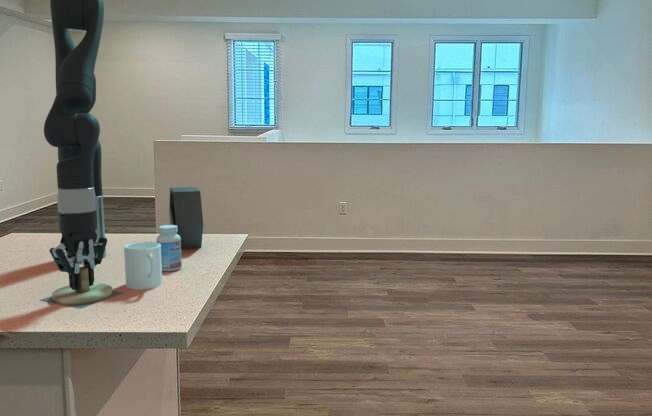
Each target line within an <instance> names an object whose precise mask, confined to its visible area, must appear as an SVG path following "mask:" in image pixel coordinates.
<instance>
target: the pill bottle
mask: <svg viewBox="0 0 652 416" xmlns="http://www.w3.org/2000/svg"><path fill="white" fill-rule="evenodd" d="M177 231H178V228H177V226H176V225H170V224H164V225H160V226H158V232H159V235H158V236H157V237H156V243H159V244H161V261H162V272H174V271H176V272H177V271H179V270H181V268H182V267H183V265H182V264H183V263H182V262H183V261H182V249H181V238H180V236H179V235H178V234H177Z"/></svg>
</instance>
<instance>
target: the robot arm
mask: <svg viewBox="0 0 652 416" xmlns="http://www.w3.org/2000/svg"><path fill="white" fill-rule="evenodd" d="M49 3H50V17H51V26H52V36H53V43H54V56H55V57H54V58H55V61H54V62H55V97H54V100H53V103H52V106H51V108H50V110H49V112H48V113H47V116H46V118H45V122H44V124H43V134H44V139H45V140H46V141H47V143H48V144H49V145H50V146H51V147H54V148H57V160H58V161H57V163H56V180H57V181H56V182H57V195H56V196H57V199H56V200H57V201H56V202H57V213H58V214H57V215H58V216H57V218H58V228H59V232H60V234H61V238H60V242H59V243H60V244H58V245H57V246H56V247H50V249H49V254H50V255H51V258H52V259H53V261H54V263H55V264H56V266H57V269H58V270H59V272H63V273H68V282H69V283H68V284H69V285H68V286H70V288H71V289H72V290H80V289H81V280H80V273H79V268H80V267H81V266H80V265H81V263H82V267H88V272H89V286H93V283H95V268H96V266H97V265H100V264H101V263H102V261H103V258H104V257H106V256H107V250H106V249H107V248H106V246H107V243H108V238H107V237H106V233H105V231H106V228H105V211H104V198H103V196H104V194H103V181H102V176H103V175H102V144H101V142H100V140H99V138H100V133H101V126H100V125H101V124H100V122H99V120H98V118H97V117H96V116H94V115H93V114H91V113H90V112H91V111H92V109H93V108H94V106H95V104H96V100H97V77H96V74H95V66H96V62H97V57H98V53H99V49H100V43H101V38H102V32H103V26H104V19H105V18H104V16H105V7H104V6H105V3H104V0H50V1H49ZM69 29H70V30H75V31H76V30H77V31H85V35H84V36H83V37H82V39H81V41H80V42H79V43H78V44H77V45H75V43H74V40H73V38H72V35H71V33H70V30H69Z"/></svg>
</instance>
